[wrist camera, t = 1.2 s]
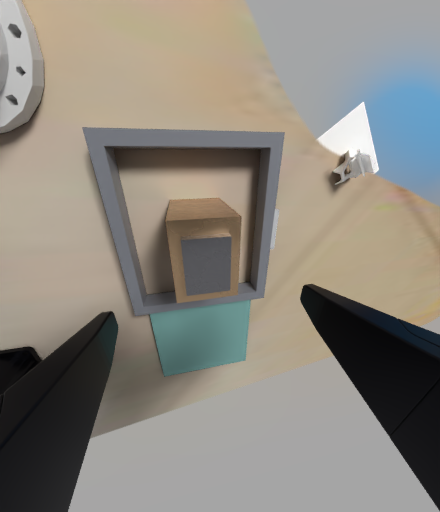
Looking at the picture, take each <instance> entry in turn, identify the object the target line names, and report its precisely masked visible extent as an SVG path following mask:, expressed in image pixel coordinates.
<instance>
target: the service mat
mask: <svg viewBox="0 0 440 512" xmlns="http://www.w3.org/2000/svg"><path fill="white" fill-rule="evenodd" d="M250 301H251V300H245V301H237V302H230V303H223V304H216V305H209V306H202V307H195V308H188V309H181V310H174V311H167V312H160V313H153V314H150V318H151V322H152V327H153V331H154V335H155V339H156V344H157V348H158V352H159V357H160V361H161V365H162V369H163V374H164V377H165V376H170V375H175V374H180V373H185V372H190V371H195V370H200V369H205V368H210V367H215V366H220V365H225V364H230V363H235V362H240V361H245V359H246V347H247V336H248V324H249V313H250Z"/></svg>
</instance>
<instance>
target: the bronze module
mask: <svg viewBox="0 0 440 512" xmlns="http://www.w3.org/2000/svg"><path fill="white" fill-rule="evenodd" d="M165 222H166V229H167V236H168V243H169V251H170V258H171V265H172V272H173V279H174V286H175V293H176V300H177V303H183V302H191V301H198V300H206V299H213V298H220V297H228V296H235V295H238V280H239V258H240V237H241V216H240V215H239V214H238V213H237V212H235V211H234V210H233V209H232V208H231V207H229V206H228V205H227V204H226V203H225V202H224V201H222V200H221V199H220V198H205V199H180V200H170V203H169V207H168V211H167V216H166V220H165Z"/></svg>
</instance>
